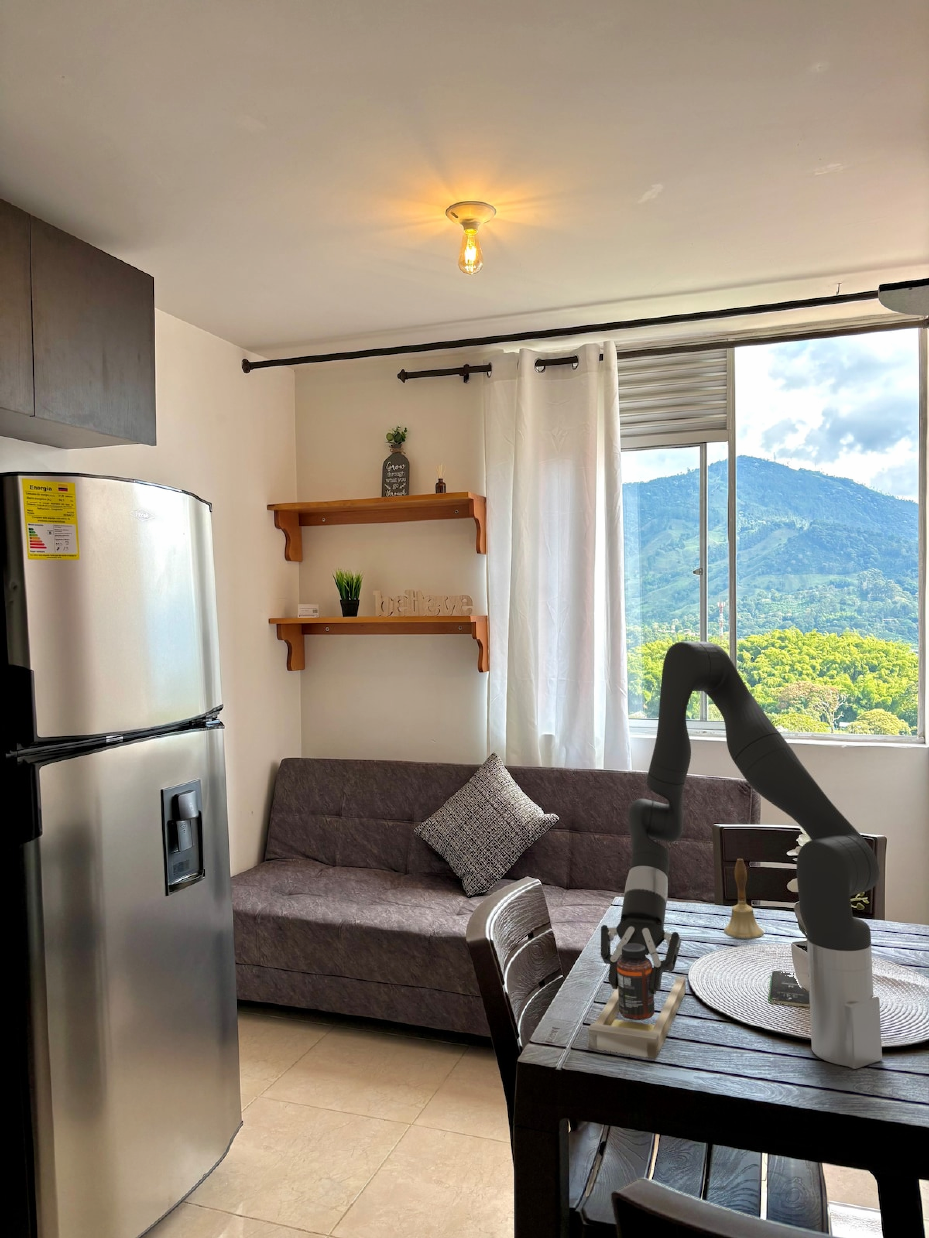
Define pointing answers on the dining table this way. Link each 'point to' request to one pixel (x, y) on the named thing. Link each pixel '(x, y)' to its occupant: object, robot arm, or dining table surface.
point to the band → (633, 1025)
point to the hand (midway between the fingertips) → (633, 989)
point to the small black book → (787, 990)
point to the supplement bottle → (635, 983)
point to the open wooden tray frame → (633, 1039)
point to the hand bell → (742, 910)
